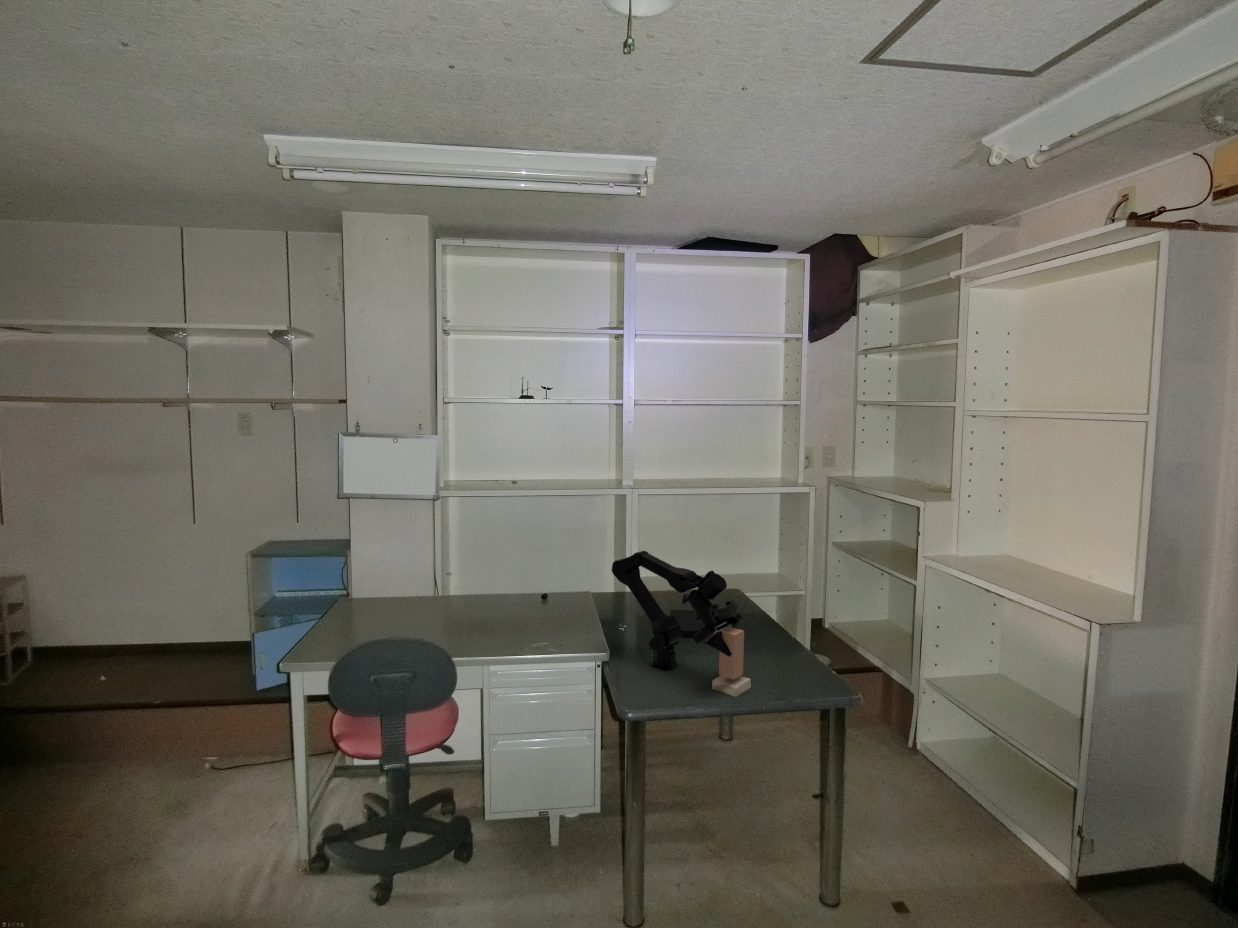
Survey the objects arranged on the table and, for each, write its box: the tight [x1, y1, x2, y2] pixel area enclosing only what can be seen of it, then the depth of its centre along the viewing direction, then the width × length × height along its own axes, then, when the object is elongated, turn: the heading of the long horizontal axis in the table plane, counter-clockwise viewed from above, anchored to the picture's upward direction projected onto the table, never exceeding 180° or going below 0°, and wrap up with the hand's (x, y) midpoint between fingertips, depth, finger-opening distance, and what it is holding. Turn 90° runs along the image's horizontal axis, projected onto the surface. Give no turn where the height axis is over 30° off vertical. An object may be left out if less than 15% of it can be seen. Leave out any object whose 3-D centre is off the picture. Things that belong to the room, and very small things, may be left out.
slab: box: [711, 675, 752, 698], centre depth 185 cm, size 8×8×3 cm
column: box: [718, 627, 745, 679], centre depth 184 cm, size 5×5×13 cm
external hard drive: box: [669, 609, 705, 639], centre depth 236 cm, size 14×23×3 cm, turn 176°
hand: (735, 652), depth 183 cm, fingers closed on column, 5 cm apart
